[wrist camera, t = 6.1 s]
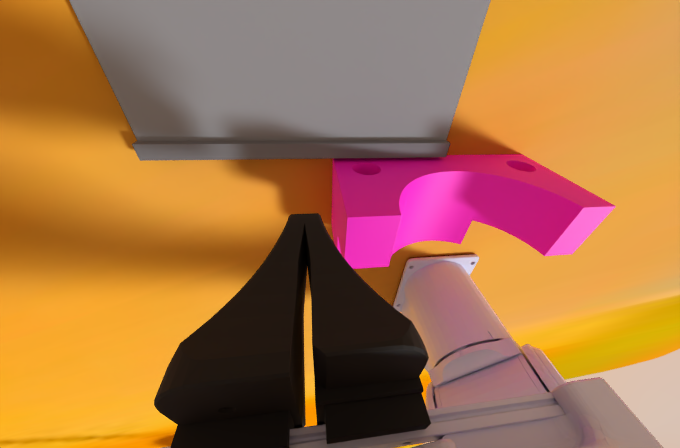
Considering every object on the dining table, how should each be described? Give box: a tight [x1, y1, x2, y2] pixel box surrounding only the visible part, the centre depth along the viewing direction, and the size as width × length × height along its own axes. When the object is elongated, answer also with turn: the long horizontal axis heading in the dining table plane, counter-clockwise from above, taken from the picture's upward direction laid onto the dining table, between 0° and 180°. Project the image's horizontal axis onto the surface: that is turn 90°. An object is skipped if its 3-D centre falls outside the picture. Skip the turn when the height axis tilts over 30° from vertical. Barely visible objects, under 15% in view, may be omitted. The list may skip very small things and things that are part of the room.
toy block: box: [332, 154, 616, 269], centre depth 17 cm, size 15×6×8 cm, turn 88°
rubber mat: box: [69, 0, 490, 160], centre depth 13 cm, size 11×20×1 cm, turn 88°
